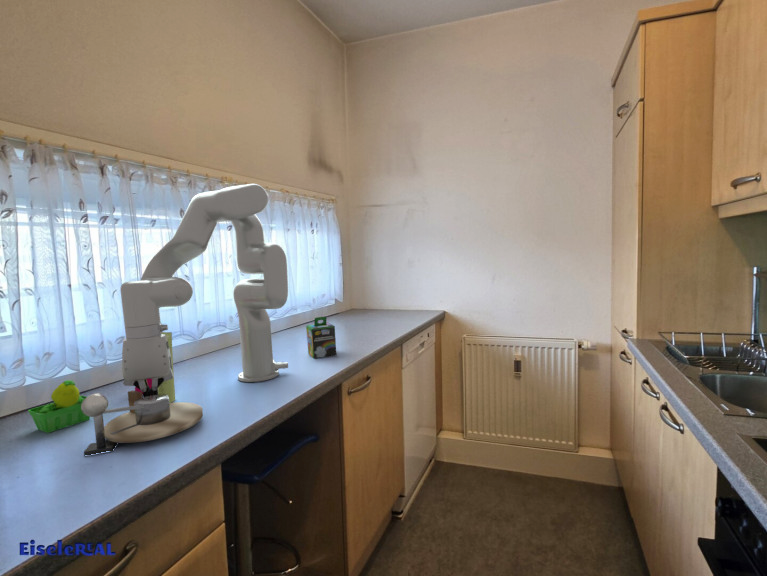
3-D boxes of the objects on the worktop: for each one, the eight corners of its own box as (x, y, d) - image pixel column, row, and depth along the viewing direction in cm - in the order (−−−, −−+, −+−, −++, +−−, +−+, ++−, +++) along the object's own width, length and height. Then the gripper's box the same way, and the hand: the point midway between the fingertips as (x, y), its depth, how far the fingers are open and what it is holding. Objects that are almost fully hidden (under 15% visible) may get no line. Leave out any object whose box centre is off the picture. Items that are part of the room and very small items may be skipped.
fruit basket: (82, 413, 110) (77, 371, 109) (100, 419, 105) (95, 375, 104) (29, 430, 100) (23, 384, 99) (46, 437, 96) (40, 389, 95)
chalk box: (330, 350, 168) (328, 313, 166) (337, 355, 159) (335, 316, 158) (307, 354, 164) (304, 316, 163) (313, 359, 156) (310, 319, 154)
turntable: (171, 402, 111) (169, 379, 110) (220, 414, 101) (218, 389, 100) (86, 431, 94) (83, 404, 94) (135, 450, 84) (132, 420, 83)
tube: (178, 397, 120) (171, 328, 118) (178, 402, 115) (171, 331, 113) (155, 400, 117) (148, 331, 116) (154, 406, 113) (147, 334, 111)
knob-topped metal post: (149, 438, 93) (144, 384, 91) (145, 446, 89) (140, 389, 88) (91, 448, 89) (84, 391, 88) (84, 456, 85) (77, 397, 84)
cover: (158, 411, 101) (157, 392, 101) (177, 415, 98) (175, 396, 98) (129, 422, 95) (127, 402, 95) (147, 427, 92) (145, 406, 92)
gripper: (179, 325, 108) (186, 395, 110) (111, 332, 103) (120, 405, 105) (176, 330, 101) (184, 405, 103) (103, 338, 96) (112, 416, 97)
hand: (152, 405), depth 104 cm, fingers closed
